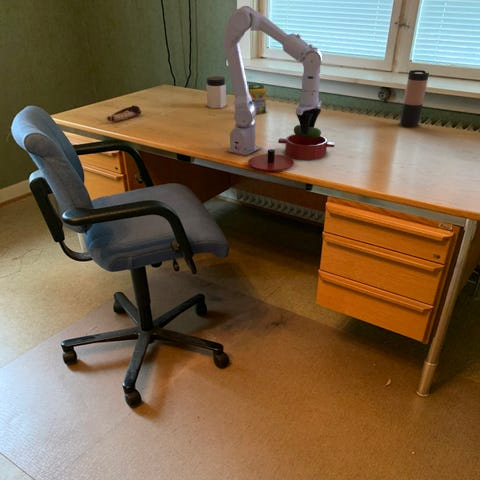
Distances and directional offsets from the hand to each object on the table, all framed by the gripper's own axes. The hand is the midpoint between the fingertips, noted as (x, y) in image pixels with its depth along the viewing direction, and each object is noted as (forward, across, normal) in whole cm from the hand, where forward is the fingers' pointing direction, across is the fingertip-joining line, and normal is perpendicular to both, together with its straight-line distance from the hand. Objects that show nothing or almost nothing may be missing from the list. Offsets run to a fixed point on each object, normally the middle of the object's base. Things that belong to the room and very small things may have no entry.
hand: (307, 132), depth 171 cm
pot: (+7, 0, 0) cm, 7 cm away
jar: (+8, +35, +67) cm, 76 cm away
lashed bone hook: (+8, -5, +88) cm, 88 cm away
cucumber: (+2, 0, 0) cm, 2 cm away
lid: (+7, -17, +4) cm, 19 cm away
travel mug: (+8, +55, -18) cm, 58 cm away
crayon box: (+8, +36, +45) cm, 58 cm away
